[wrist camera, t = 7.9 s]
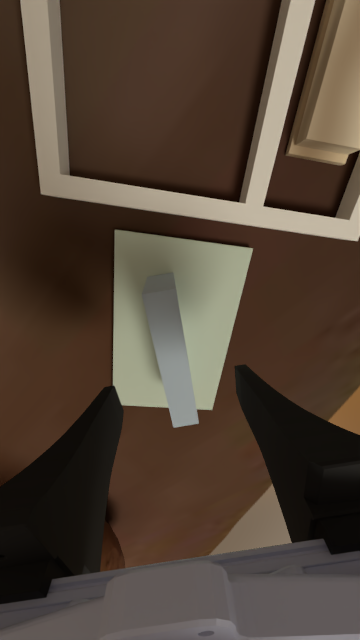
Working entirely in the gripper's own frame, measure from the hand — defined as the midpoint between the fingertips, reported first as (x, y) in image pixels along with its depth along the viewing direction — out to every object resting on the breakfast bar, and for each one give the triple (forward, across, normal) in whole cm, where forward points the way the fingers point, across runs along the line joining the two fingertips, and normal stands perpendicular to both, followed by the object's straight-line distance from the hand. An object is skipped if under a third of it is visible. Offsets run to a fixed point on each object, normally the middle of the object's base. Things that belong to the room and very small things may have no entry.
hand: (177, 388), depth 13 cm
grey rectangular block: (+6, 0, 0) cm, 6 cm away
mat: (+7, 0, 0) cm, 7 cm away
